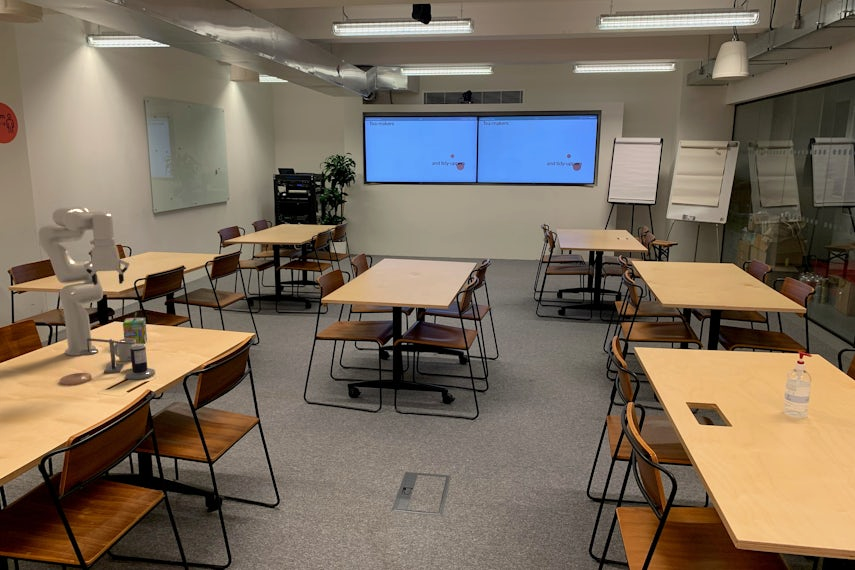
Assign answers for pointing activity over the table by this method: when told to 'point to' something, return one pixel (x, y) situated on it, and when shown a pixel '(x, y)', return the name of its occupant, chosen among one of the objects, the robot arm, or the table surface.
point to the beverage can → (138, 358)
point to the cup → (123, 349)
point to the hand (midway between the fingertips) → (108, 283)
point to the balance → (113, 366)
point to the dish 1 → (75, 379)
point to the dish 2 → (147, 374)
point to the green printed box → (135, 329)
